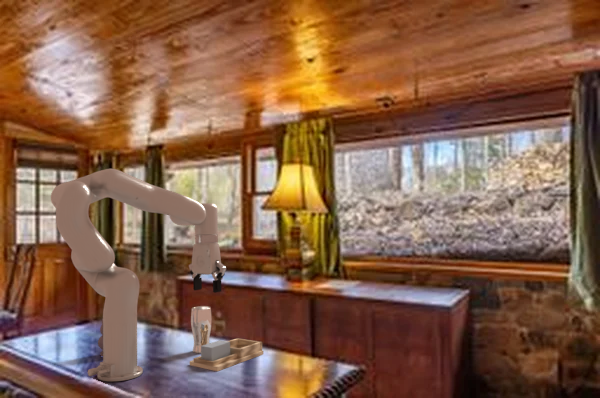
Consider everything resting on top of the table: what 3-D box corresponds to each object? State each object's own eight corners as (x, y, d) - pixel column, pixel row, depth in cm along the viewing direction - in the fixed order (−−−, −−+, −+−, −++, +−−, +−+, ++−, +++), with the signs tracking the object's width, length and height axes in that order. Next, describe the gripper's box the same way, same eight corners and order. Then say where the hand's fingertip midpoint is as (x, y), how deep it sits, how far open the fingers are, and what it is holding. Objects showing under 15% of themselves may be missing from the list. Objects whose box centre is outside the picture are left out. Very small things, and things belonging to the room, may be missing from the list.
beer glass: (214, 348, 178) (213, 306, 178) (208, 354, 171) (208, 309, 171) (194, 348, 178) (194, 306, 179) (188, 353, 172) (188, 309, 172)
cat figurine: (128, 354, 172) (128, 319, 173) (108, 360, 166) (108, 323, 166) (113, 351, 177) (112, 316, 177) (92, 356, 170) (92, 320, 171)
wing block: (211, 364, 154) (211, 347, 155) (201, 362, 157) (200, 346, 157) (230, 357, 162) (230, 341, 162) (219, 355, 164) (219, 340, 164)
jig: (217, 371, 151) (217, 357, 151) (189, 365, 158) (189, 352, 158) (263, 354, 169) (263, 342, 170) (236, 349, 176) (236, 338, 176)
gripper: (181, 240, 172) (181, 290, 171) (215, 240, 161) (216, 294, 161) (198, 239, 178) (198, 287, 177) (232, 239, 167) (233, 291, 167)
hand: (207, 290), depth 169 cm, fingers open, 9 cm apart
